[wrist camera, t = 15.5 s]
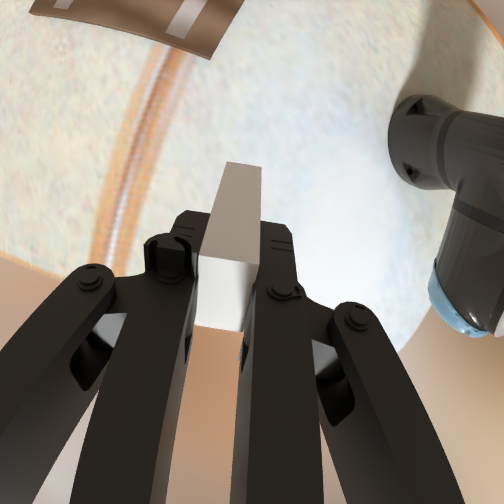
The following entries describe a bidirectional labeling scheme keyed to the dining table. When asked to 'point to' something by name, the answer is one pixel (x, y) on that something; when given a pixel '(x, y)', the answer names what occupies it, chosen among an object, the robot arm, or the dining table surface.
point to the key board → (153, 19)
